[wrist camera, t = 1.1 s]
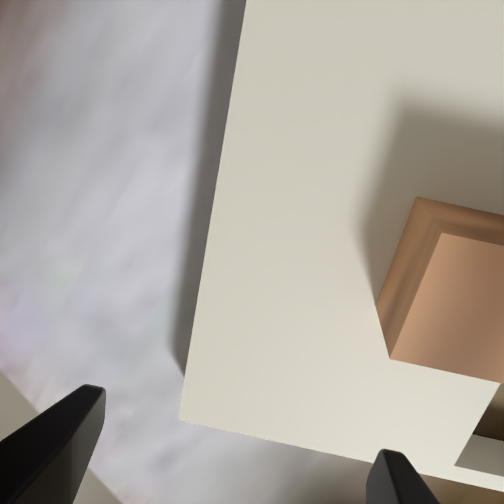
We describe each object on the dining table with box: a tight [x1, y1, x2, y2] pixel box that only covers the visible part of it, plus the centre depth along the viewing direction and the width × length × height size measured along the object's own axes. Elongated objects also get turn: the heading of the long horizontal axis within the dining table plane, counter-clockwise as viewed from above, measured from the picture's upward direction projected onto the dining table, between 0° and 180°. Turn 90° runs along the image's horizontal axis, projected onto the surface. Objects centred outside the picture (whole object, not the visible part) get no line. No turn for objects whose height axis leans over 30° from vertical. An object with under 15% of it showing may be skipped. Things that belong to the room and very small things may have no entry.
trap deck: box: [178, 0, 504, 492], centre depth 19 cm, size 22×23×4 cm
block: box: [375, 196, 504, 384], centre depth 17 cm, size 5×5×4 cm
